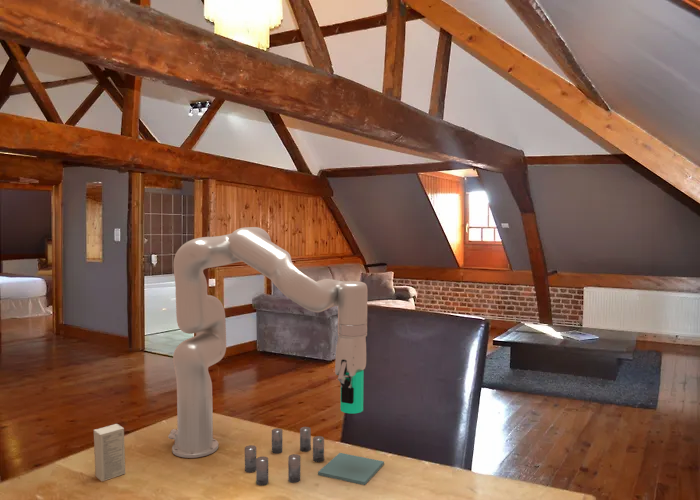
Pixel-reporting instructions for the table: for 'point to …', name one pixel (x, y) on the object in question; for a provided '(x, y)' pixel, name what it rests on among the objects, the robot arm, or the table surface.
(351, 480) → the mat
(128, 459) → the table surface
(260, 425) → the table surface
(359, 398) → the candle
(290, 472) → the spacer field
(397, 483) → the table surface
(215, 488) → the table surface
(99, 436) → the skincare box
